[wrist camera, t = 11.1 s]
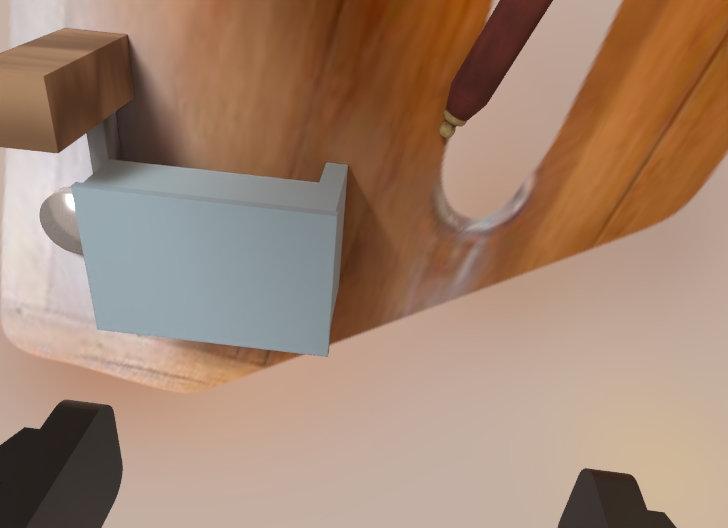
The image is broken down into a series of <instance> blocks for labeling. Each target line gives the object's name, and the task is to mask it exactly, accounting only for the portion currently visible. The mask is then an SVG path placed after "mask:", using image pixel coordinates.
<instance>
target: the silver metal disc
mask: <svg viewBox="0 0 728 528" xmlns="http://www.w3.org/2000/svg"><path fill="white" fill-rule="evenodd" d="M40 222H41V225H42V227H43V229H44V231H45V233H46V234H47V235H48V237H49V238H50V239H51V240H52V241H53V242H54V243H56V244H57V245H58V246H60V247H61V248H63V249H65V250H67V251H70V252H73V253H78V254H83V250H82V244H81V239H80V233H79V228H78V223H77V217H76V212H75V207H74V201H73V196H72V191H71V187H65V188H61V189H59V190H57V191H56V192H55V193H53V194H52V195H51V196H50V197H49V198H47V199H46V200H45V201H44V202H43V204H42V206H41V209H40Z"/></svg>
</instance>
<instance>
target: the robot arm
mask: <svg viewBox="0 0 728 528" xmlns="http://www.w3.org/2000/svg"><path fill="white" fill-rule="evenodd" d="M122 468H123V466H122V458H121V453H120V446H119V440H118V434H117V429H116V422H115V417H114V411H113V409H112V407H111V406H109V405H104V404H96V403H88V402H81V401H73V400H63V401H62V402H60V403H59V404H58V405H57V406H56V407H55V409H54V410H53V411H52V413H51V414H50V416H49V417H48V418H47V420H46V421H45V423H44V424H43V425H42V427H41V428H40V429H34V428H26V427H24V428H23V429H22V430H21V431H19V432H18V433H17V434H15V435H14V436H12V437H11V438H9V439H8V440H7V441H6V442H4V443H3V444H1V445H0V528H101V527H102V525H103V523H104V521H105V519H106V518H107V516H108V513H109V512H110V510H111V508H112V506H113V504H114V501H115V499H116V497H117V494H118V491H119V487H120V484H121V479H122V470H123V469H122ZM558 528H676V527H675V525H674V524H673V523H672V522H671V520H670V519H669V518H668V517H667V515H666V514H665V513H663V512H657V511H649V510H647V508H646V505H645V502H644V500H643V497H642V494H641V492H640V489H639V486H638V484H637V482H636V480H635V478H634V477H633V476H632V475H630V474H625V473H617V472H610V471H601V470H594V469H583V470H582V471H581V472H580V474H579V476H578V478H577V481H576V483H575V486H574V488H573V490H572V493H571V495H570V497H569V500H568V502H567V505H566V507H565V509H564V512H563V514H562V517H561V519H560V522H559V525H558Z"/></svg>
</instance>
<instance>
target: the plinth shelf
mask: <svg viewBox="0 0 728 528" xmlns="http://www.w3.org/2000/svg"><path fill="white" fill-rule="evenodd" d="M347 173H348V164H339V163H330V162H326V165H325V167H324V170H323V173H322V176H321V179H320V182H310V181H301V180H292V179H283V178H274V177H265V176H256V175H247V174H238V173H229V172H220V171H211V170H202V169H193V168H184V167H175V166H166V165H157V164H148V163H139V162H130V161H121V160H112V159H110V160H109V161H108V162H107V163H105V164H104V165H103V166H102V167H101V168H100V169H98V170H97V171H96V172H95V173H94V174H93V175H92V176H90V177H89V178H88V179H87V180H86V181H85V182H83V183H78V182H75V183H74V184H73V185H72V186H71V191H72V196H73V201H74V207H75V212H76V217H77V223H78V228H79V233H80V239H81V244H82V250H83V255H84V260H85V266H86V271H87V276H88V282H89V287H90V293H91V298H92V303H93V309H94V314H95V319H96V325H97V330H105V331H114V332H122V333H131V334H139V335H147V336H156V337H164V338H173V339H181V340H190V341H198V342H207V343H215V344H224V345H232V346H241V347H249V348H258V349H266V350H274V351H283V352H291V353H300V354H308V355H318V356H325V357H328V353H329V342H330V327H331V322H332V317H333V313H334V308H335V303H336V298H337V294H338V289H339V281H340V267H341V254H342V240H343V227H344V214H345V200H346V187H347Z"/></svg>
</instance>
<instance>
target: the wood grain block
mask: <svg viewBox="0 0 728 528" xmlns="http://www.w3.org/2000/svg"><path fill="white" fill-rule="evenodd" d="M133 98H134V89H133V81H132V72H131V63H130V55H129V46H128V37H127V35H126V34H116V33H107V32H98V31H88V30H79V29H69V28H63V29H61V30H58V31H56V32H53V33H50V34H48V35H45V36H43V37H40V38H38V39H35V40H33V41H30V42H27V43H25V44H22V45H20V46H17V47H15V48H12V49H9V50H7V51H4V52H2V53H0V147H6V148H15V149H24V150H33V151H42V152H51V153H59V152H61V151H62V150H63V149H65V148H66V147H68V146H69V145H70V144H72V143H73V142H74V141H76V140H77V139H79V138H80V137H81V136H83V135H84V134H85V133H87V139H88V145H89V151H90V157H91V164H92V170H93V174H94V173H95V172H96V171H97V170H98V169H100V168H101V167H102V166H103V165H104V164H105V163H107V162H108V161H109V160H110V159H112V160H121V161H122V154H121V147H120V139H119V132H118V124H117V117H116V111H117V110H118V109H120V108H121V107H122V106H124V105H125V104H127V103H128V102H129V101H131V100H132V99H133Z"/></svg>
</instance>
